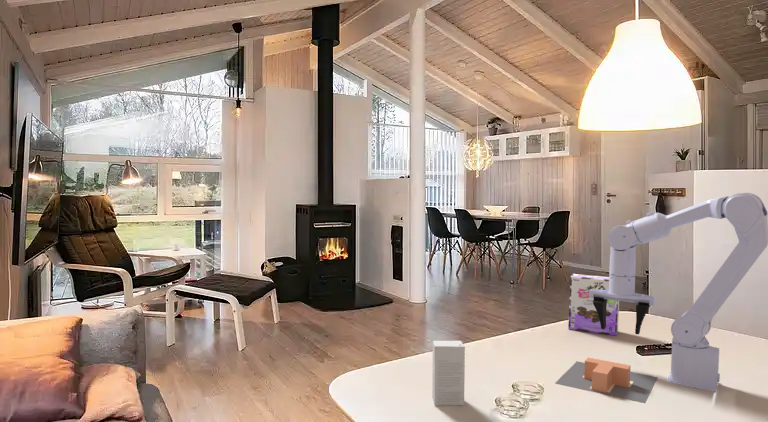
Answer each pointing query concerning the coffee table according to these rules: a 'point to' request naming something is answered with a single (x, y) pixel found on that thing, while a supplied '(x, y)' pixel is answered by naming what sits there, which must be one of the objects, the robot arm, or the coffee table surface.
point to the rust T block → (606, 374)
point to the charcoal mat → (634, 391)
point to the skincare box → (448, 373)
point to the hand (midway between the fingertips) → (620, 330)
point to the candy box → (590, 305)
